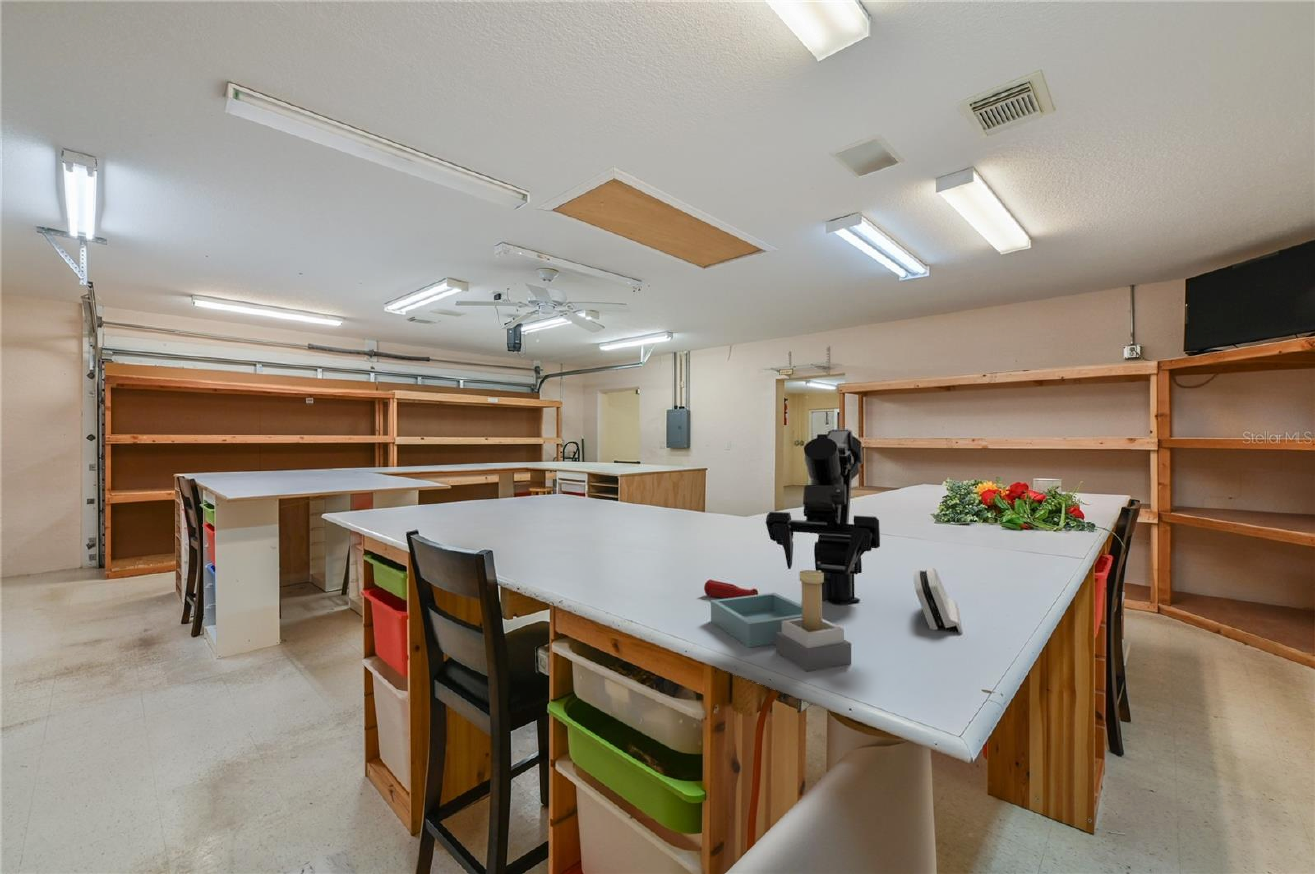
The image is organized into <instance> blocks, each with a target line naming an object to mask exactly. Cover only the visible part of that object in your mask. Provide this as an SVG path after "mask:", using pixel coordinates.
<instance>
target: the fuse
mask: <svg viewBox="0 0 1315 874" xmlns="http://www.w3.org/2000/svg"><path fill="white" fill-rule="evenodd" d="M799 581H800V582H801V605H802V627H801V628H802V629H804V630H806V631H807V632H813V631H819V630H823V629H822V619H823V599H822V583H823V582H824V573H822V572H821V571H816V570H814V569H813V570H811V569H810V570H807V569H806V570H803V569H802V570H800V571H799Z"/></svg>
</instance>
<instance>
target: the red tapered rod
mask: <svg viewBox="0 0 1315 874" xmlns="http://www.w3.org/2000/svg"><path fill="white" fill-rule="evenodd" d="M703 589H704V594H705V595H707V596H708V597H715V598H720V599H727V598H735V597H744V596H752V595H759V591H758V589H757V588H751V589H747V588H743V587H742V588H741V587H739V586H737V585H735V584H732V583H727V582H724V581H718V580H713V579H708V580H707V581H706V582H705V583H704V588H703Z"/></svg>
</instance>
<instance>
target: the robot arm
mask: <svg viewBox="0 0 1315 874" xmlns="http://www.w3.org/2000/svg"><path fill="white" fill-rule="evenodd" d="M827 432H828V433H825V434H824V433H822V434H821V433H819V434H817V435H816V437H815V438H813V439H811V440H809V441H808V442H807V443H806V444H805V445H804V446H803V452H804V460H805V466H806V468H807V474H808V477H810V479H811V481H810V484H806V485H804V486H803V496H802V497H803V499H802V504H803V505H804V506H803V517H806V518H805V520H804V519H802V520H801V519H792V516H791V512H790V511H789V512H787V511H769V513H768V514H767V515H766V519H765V525H766V529H767V532H768V536H769V539H770V540H771V541H772V542H776V544H777V545H778V546H779V545H780V546H782V548H783V550H784V555H785V560H786V566H787V570H791V568H792V567H793V557H794V541H793V540H794V533H805V534H806V533H809V534H815V535H816V534H817V535H818V538H817V541H815V542H814V545H813V546H814V548H813V549H814V550H813V551H814V552H813V553H814V554H813V556H814V564H815V566H814V569H815V571H820V572H822V573H824V582H823V583H822V601H825V600H826V602H827V603H830V604H833V605H834V606H835V605H838V606H839V605H846V604H851V603H852V604H853V603H858V602H859V603H860V602H861V599H860V598H858V597H855V575H858V574H862V573H863V572H862V571H863V566H862V565H863V564H862V556H863V554H865V552H871V551H872V549H878V548H880V547H881V534H880V533H881V531H880V530H881V529H880V519H878V517H877V516H873V515H853V523H849V521H850V509H851V508H850V507H851V497H852V496H851V493H852V481H853V480H854V478H856V477H857V475H859V474H860V467H861V465H863V462H864V454H863V453H864V452H863V445H862V441H861V440H859V439H858V438H857V437H856V436H854V435H853V432H852V430H851V429H848V428H845V429H843V428H841V429H839V428H838V429H834V428H833V429H831V430H828V431H827Z"/></svg>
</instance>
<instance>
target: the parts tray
mask: <svg viewBox="0 0 1315 874" xmlns="http://www.w3.org/2000/svg"><path fill="white" fill-rule="evenodd" d="M797 618H802V604H800V603H797V602H796V601H793V600H791V599H789V598H788V597H784V596H782V595H780V594H778V593H775V592H769V593H760V594H758V595H752V596H744V597H735V598H727V599H724V598H720V599H711V600H710V621H711V622H712V623H714V624H715V625H716V626H717V627H719V628H720V629H722V630H723V631H725V632H726V633H727V634H729V635H731V636H732V637H734V638H735V639H737V640H738V641H739V642H741V643H742V644H743V645H745V646H747V647H749V648H755V647H761V646H767V645H773V644H776V632H782V621H784V620H791V619H797Z"/></svg>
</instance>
